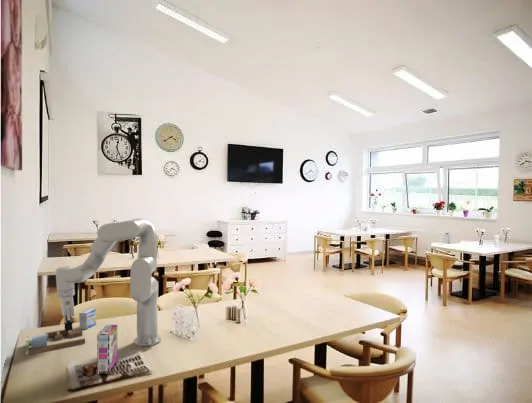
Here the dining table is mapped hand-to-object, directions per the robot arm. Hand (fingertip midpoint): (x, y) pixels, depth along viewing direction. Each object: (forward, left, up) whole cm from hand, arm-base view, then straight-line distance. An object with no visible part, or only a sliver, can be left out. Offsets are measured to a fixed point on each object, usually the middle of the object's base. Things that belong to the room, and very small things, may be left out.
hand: (68, 329), depth 183 cm
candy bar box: (-38, -11, -6) cm, 40 cm away
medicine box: (+18, -10, -6) cm, 21 cm away
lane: (+3, +6, -6) cm, 9 cm away
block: (0, +12, -6) cm, 14 cm away
